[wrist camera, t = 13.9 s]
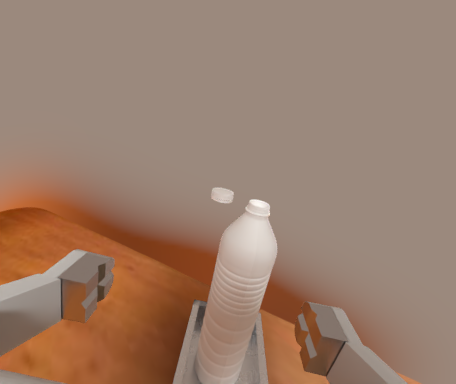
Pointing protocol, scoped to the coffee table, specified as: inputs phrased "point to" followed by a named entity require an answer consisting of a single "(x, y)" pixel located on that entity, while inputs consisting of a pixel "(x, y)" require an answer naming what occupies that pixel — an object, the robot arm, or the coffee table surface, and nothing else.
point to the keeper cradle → (253, 361)
